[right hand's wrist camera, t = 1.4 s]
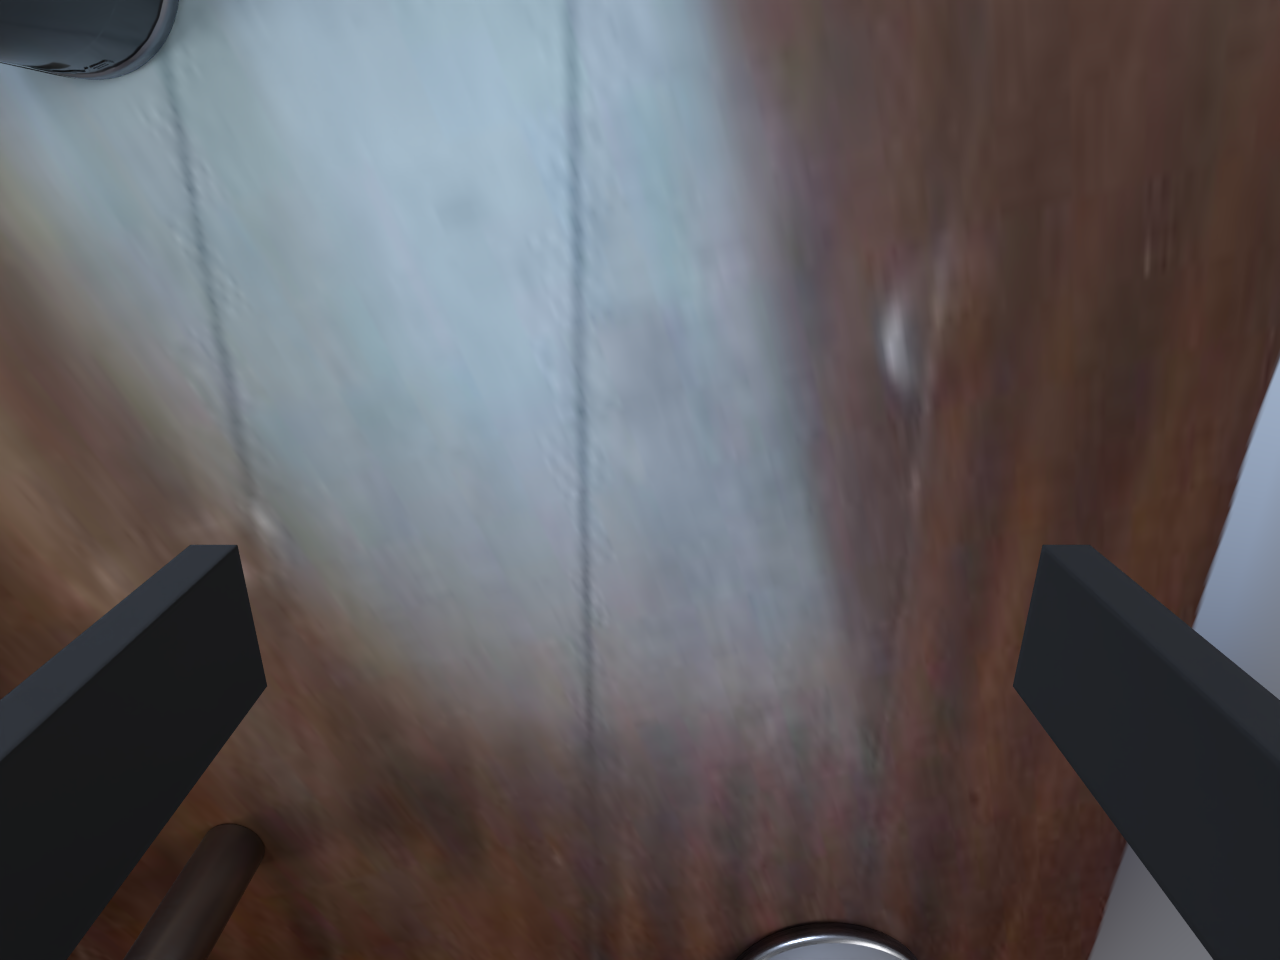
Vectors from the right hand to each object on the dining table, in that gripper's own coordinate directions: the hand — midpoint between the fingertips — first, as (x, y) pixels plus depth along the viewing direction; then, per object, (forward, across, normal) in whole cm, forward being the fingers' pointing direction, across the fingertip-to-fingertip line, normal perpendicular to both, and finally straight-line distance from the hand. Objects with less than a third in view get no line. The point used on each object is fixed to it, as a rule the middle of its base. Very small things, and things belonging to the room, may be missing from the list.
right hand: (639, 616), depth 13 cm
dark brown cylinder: (+28, +27, +35) cm, 52 cm away
